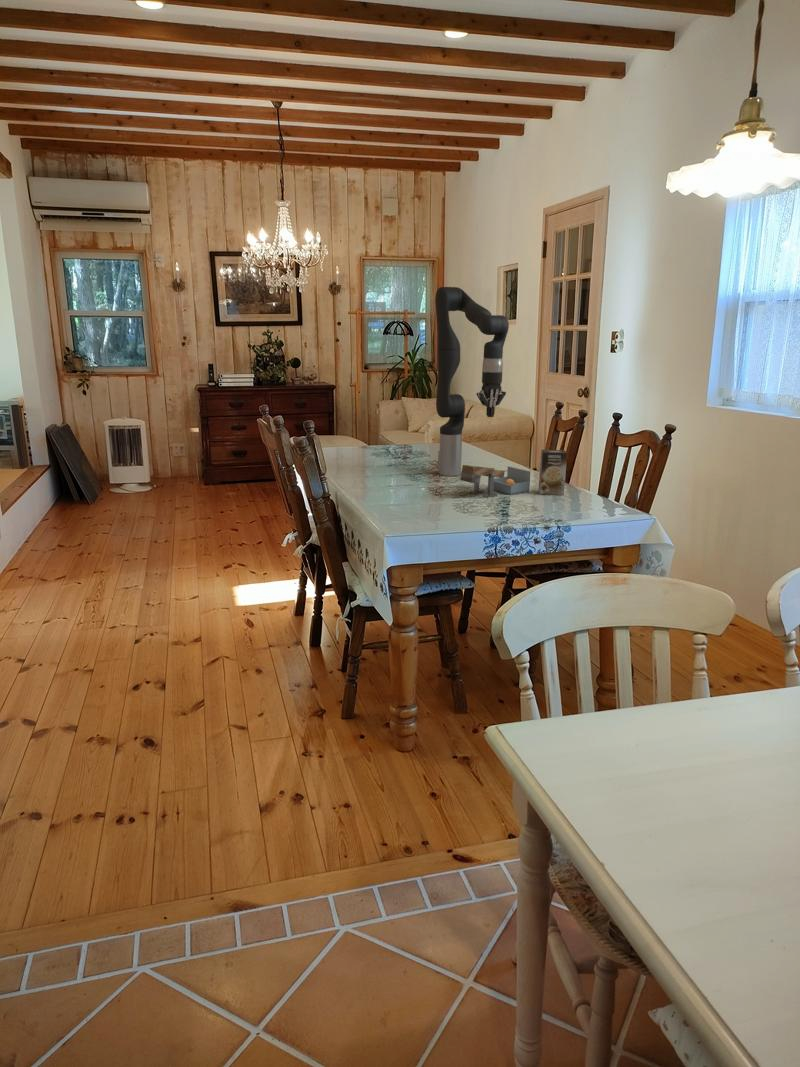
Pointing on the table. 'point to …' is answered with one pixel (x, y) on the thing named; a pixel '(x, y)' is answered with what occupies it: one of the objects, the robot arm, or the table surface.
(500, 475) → the lever chute
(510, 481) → the ball
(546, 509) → the table surface
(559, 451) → the coffee box
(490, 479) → the lever stand
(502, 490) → the bin
